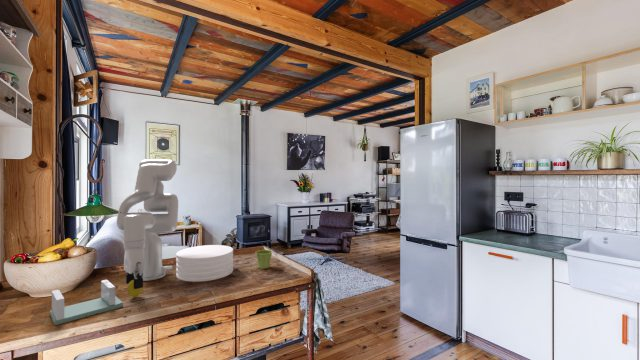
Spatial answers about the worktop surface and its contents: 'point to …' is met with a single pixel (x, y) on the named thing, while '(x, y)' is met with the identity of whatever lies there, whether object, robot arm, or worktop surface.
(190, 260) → the plate stack
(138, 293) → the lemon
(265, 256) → the plant pot
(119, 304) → the vise base
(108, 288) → the vise jaw
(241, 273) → the worktop surface
